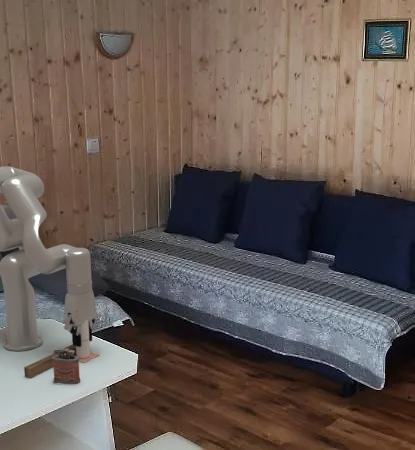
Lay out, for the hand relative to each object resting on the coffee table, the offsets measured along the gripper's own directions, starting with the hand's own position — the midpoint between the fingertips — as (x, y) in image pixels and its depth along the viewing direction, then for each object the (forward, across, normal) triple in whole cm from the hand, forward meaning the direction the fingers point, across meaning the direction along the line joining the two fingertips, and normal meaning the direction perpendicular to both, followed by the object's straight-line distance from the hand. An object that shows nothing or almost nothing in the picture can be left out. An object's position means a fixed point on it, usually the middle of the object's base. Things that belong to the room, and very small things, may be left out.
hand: (82, 342), depth 214 cm
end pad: (+5, 0, +1) cm, 5 cm away
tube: (+5, 0, 0) cm, 5 cm away
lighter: (+5, +16, +8) cm, 19 cm away
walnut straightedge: (+5, +8, -4) cm, 10 cm away
